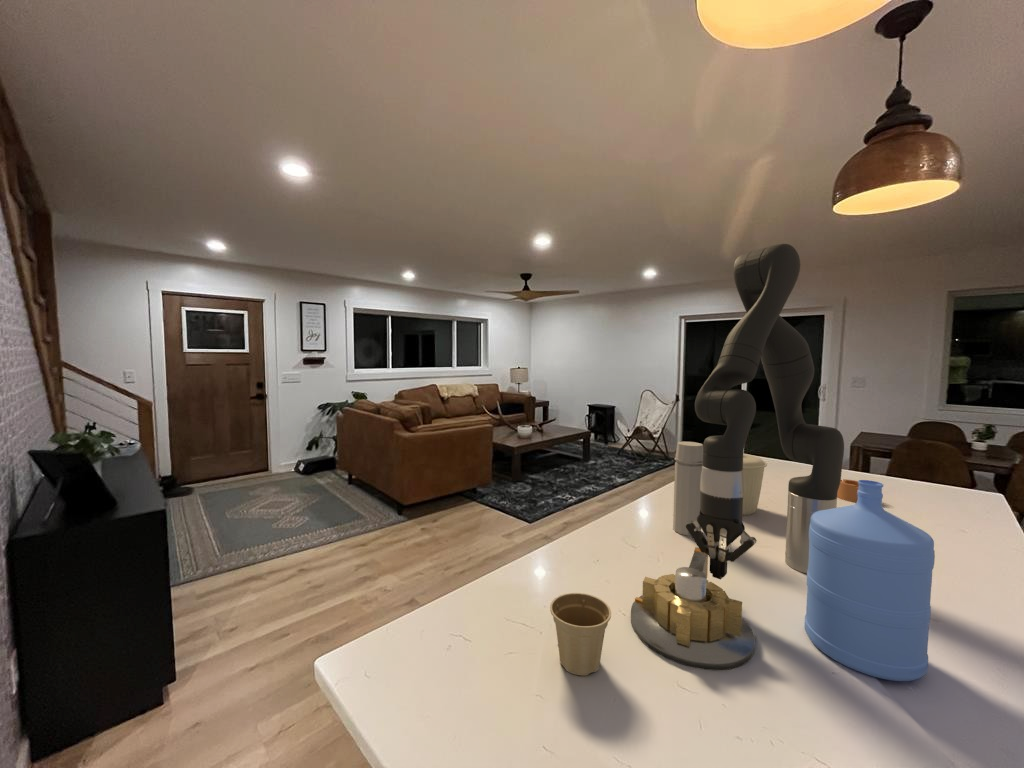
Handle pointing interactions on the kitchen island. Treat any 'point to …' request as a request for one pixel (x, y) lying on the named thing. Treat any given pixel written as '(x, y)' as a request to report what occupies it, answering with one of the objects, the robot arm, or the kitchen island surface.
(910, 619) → the water jug
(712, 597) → the segmented ring on plate
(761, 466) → the canister
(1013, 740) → the kitchen island surface
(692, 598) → the housing
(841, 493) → the bracket
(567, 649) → the flower pot
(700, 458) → the water bottle
